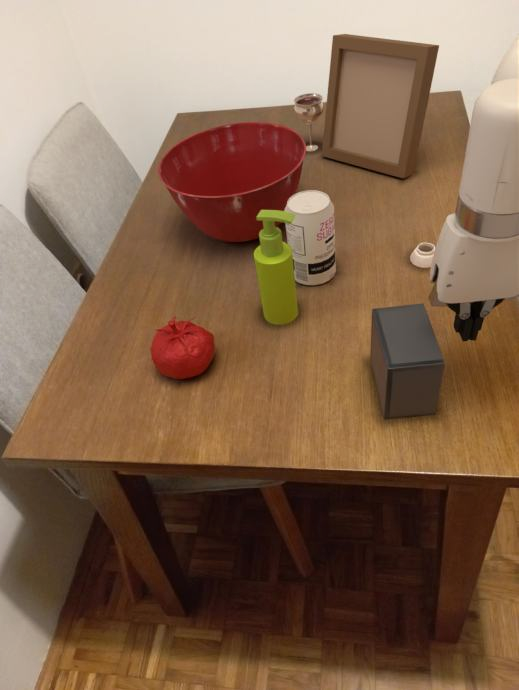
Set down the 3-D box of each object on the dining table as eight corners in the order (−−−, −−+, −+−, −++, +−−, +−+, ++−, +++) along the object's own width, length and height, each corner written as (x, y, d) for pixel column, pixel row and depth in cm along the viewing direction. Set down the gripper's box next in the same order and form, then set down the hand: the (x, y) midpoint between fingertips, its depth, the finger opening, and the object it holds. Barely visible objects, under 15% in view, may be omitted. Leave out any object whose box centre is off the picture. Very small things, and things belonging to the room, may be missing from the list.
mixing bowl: (184, 280, 100) (163, 209, 88) (171, 204, 119) (152, 138, 108) (327, 247, 101) (324, 173, 90) (291, 177, 121) (285, 110, 110)
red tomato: (210, 389, 80) (197, 348, 74) (149, 385, 82) (131, 345, 76) (224, 342, 87) (214, 300, 80) (168, 340, 89) (153, 299, 82)
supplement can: (294, 259, 100) (287, 188, 89) (338, 260, 98) (336, 188, 87) (287, 287, 94) (279, 215, 84) (333, 289, 92) (331, 215, 82)
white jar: (405, 256, 96) (418, 272, 93) (406, 243, 94) (419, 259, 90) (430, 249, 96) (444, 265, 93) (432, 236, 94) (446, 251, 91)
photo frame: (403, 182, 113) (412, 57, 95) (321, 159, 125) (316, 44, 107) (437, 152, 120) (452, 31, 102) (357, 133, 131) (358, 21, 113)
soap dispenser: (298, 329, 87) (287, 227, 72) (259, 323, 89) (241, 222, 75) (308, 306, 90) (299, 204, 76) (270, 300, 93) (255, 200, 78)
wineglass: (292, 153, 129) (287, 103, 120) (306, 140, 132) (303, 91, 124) (316, 157, 126) (313, 107, 117) (330, 145, 129) (328, 95, 120)
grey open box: (416, 356, 79) (423, 303, 72) (435, 416, 72) (445, 363, 64) (370, 361, 80) (371, 308, 72) (383, 420, 72) (387, 369, 65)
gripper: (552, 183, 57) (514, 308, 70) (413, 200, 58) (401, 319, 71) (584, 221, 52) (536, 348, 65) (430, 239, 53) (413, 360, 66)
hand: (465, 333), depth 68 cm, fingers closed
